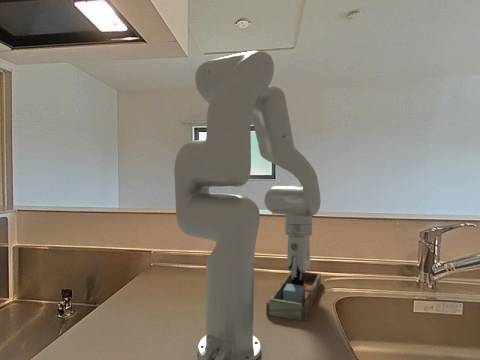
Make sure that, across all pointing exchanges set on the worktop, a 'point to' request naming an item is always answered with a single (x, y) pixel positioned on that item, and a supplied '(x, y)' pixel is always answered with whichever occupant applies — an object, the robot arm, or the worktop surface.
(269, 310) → the open box
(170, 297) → the worktop surface
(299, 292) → the block
